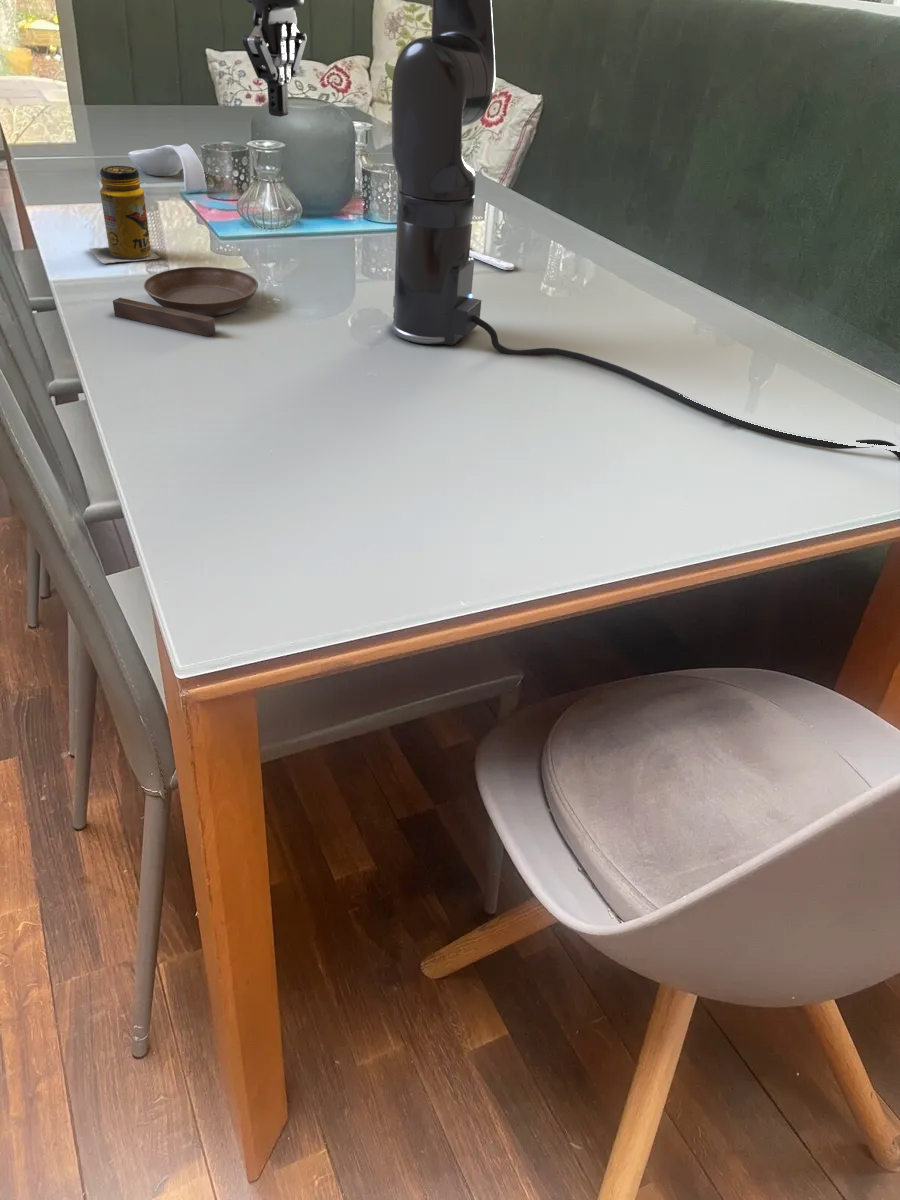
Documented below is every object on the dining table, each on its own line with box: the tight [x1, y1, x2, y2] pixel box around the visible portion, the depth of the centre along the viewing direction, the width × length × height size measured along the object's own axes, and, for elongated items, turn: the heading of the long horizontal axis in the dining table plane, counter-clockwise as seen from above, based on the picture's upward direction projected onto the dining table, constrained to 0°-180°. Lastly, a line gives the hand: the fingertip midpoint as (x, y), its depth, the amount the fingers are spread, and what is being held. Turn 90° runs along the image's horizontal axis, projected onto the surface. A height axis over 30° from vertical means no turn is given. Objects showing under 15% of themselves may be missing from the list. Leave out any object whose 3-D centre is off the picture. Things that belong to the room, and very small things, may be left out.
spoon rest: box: [127, 143, 208, 193], centre depth 173 cm, size 24×12×7 cm, turn 37°
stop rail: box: [112, 297, 216, 337], centre depth 113 cm, size 14×2×2 cm, turn 69°
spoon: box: [469, 249, 515, 271], centre depth 147 cm, size 5×18×1 cm, turn 44°
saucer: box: [143, 266, 259, 317], centre depth 119 cm, size 15×15×3 cm
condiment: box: [88, 164, 161, 264], centre depth 131 cm, size 7×8×12 cm
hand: (278, 115), depth 121 cm, fingers closed
